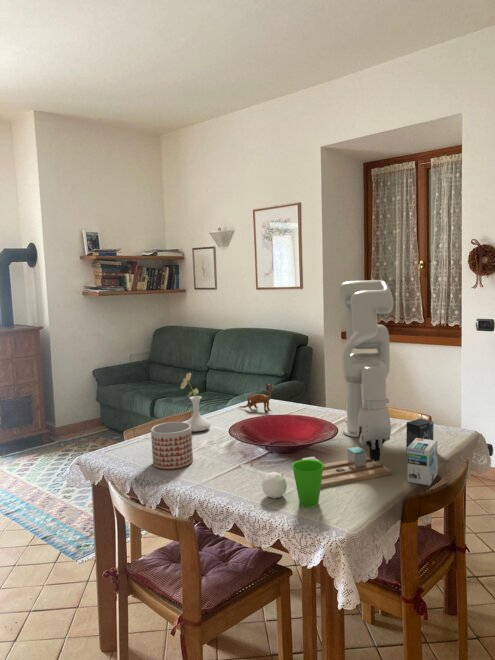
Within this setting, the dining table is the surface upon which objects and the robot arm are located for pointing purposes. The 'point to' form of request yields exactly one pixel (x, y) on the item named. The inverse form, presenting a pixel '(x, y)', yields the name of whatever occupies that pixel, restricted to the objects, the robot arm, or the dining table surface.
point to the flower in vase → (195, 409)
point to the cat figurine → (260, 399)
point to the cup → (308, 481)
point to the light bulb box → (422, 461)
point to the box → (419, 430)
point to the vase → (172, 445)
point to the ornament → (274, 485)
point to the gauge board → (350, 472)
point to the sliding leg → (356, 457)
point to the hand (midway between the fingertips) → (375, 459)
